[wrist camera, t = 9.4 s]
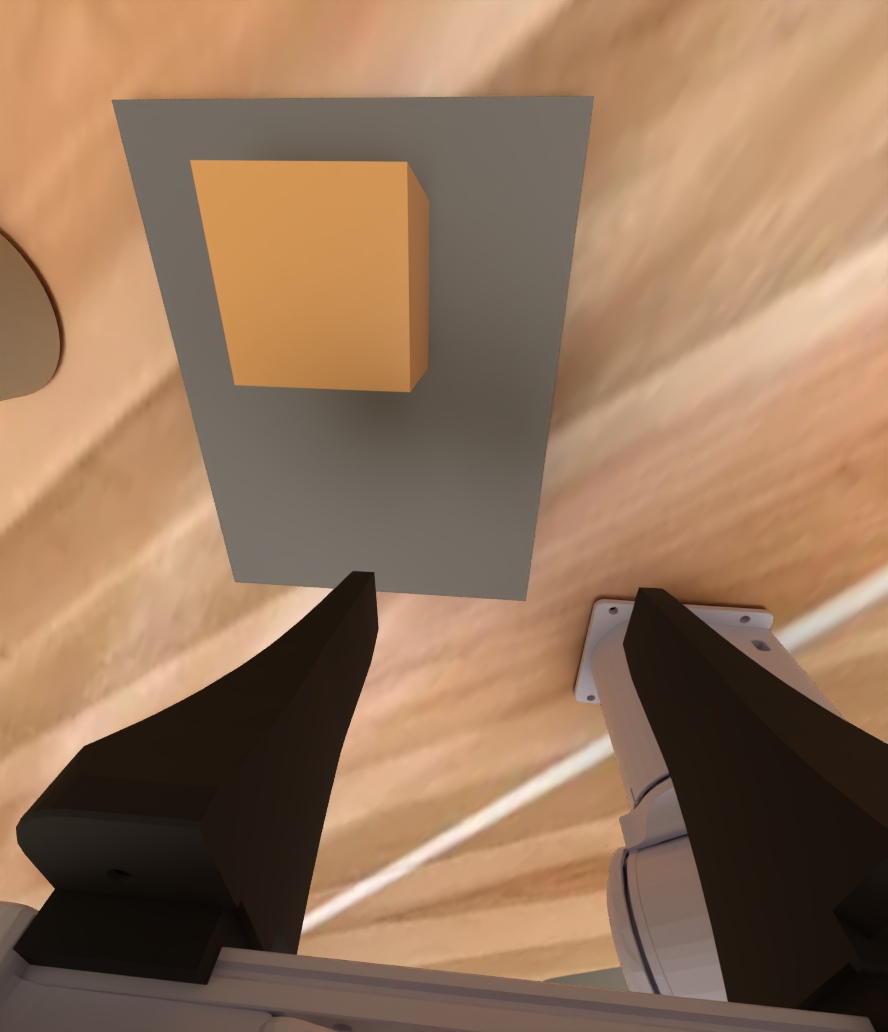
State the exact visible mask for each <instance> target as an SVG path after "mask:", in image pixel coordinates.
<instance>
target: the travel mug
mask: <svg viewBox="0 0 888 1032" xmlns="http://www.w3.org/2000/svg"><path fill="white" fill-rule="evenodd" d="M59 354H60V338H59V330H58V325H57V321H56V317H55V314H54V311H53V308H52V306H51V303H50V301H49V298H48V296H47V294H46V292H45V290H44V288H43V286H42V285H41V283H40V281H39V279H38V278H37V276H36V275H35V273H34V272H33V270H32V269H31V267H30V266H29V265H28V263H27V262H26V261H25V259H24V258H23V257H22V256H21V255H20V253H19V252H18V251H17V250H16V249H15V248H14V247H13V246H12V245H11V243H10V242H9V241H8V240H6V239H5V238H4V237H3V236H2V235H1V234H0V401H3V400H7V399H12V398H16V397H21V396H25V395H29V394H32V393H34V392H36V391H38V390H40V389H41V388H42V387H44V386H45V385H46V384H47V383H48V382H49V380H50V379H51V378H52V376H53V374H54V372H55V370H56V367H57V364H58V360H59Z"/></svg>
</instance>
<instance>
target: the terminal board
mask: <svg viewBox="0 0 888 1032" xmlns="http://www.w3.org/2000/svg"><path fill="white" fill-rule="evenodd" d="M593 100H594V96H541V97H413V98H286V99H158V100H112V103H113V107H114V111H115V115H116V119H117V123H118V127H119V130H120V134H121V138H122V142H123V146H124V150H125V154H126V158H127V162H128V166H129V170H130V173H131V177H132V181H133V185H134V189H135V193H136V197H137V201H138V205H139V209H140V213H141V216H142V220H143V224H144V228H145V232H146V236H147V240H148V244H149V248H150V252H151V256H152V260H153V263H154V267H155V271H156V275H157V279H158V283H159V287H160V291H161V295H162V299H163V303H164V306H165V310H166V314H167V318H168V322H169V326H170V330H171V334H172V338H173V342H174V346H175V349H176V353H177V357H178V361H179V365H180V369H181V373H182V377H183V381H184V385H185V389H186V392H187V396H188V400H189V404H190V408H191V412H192V416H193V420H194V424H195V428H196V432H197V436H198V439H199V443H200V447H201V451H202V455H203V459H204V463H205V467H206V471H207V475H208V479H209V482H210V486H211V490H212V494H213V498H214V502H215V506H216V510H217V514H218V518H219V522H220V525H221V529H222V533H223V537H224V541H225V545H226V549H227V553H228V557H229V561H230V565H231V568H232V572H233V576H234V580H235V582H241V583H257V584H272V585H287V586H303V587H318V588H333V589H335V588H336V587H337V586H338V585H339V584H340V583H341V582H342V581H343V580H344V579H345V578H346V577H347V576H348V575H349V574H350V573H351V572H352V571H365V572H375V586H376V591H380V592H395V593H410V594H426V595H441V596H456V597H472V598H487V599H502V600H518V601H526V596H527V589H528V581H529V574H530V566H531V559H532V552H533V544H534V537H535V529H536V522H537V515H538V507H539V500H540V492H541V485H542V478H543V470H544V463H545V455H546V448H547V441H548V433H549V426H550V418H551V411H552V404H553V396H554V389H555V381H556V374H557V367H558V359H559V352H560V344H561V337H562V330H563V322H564V315H565V307H566V300H567V293H568V285H569V278H570V270H571V263H572V256H573V248H574V241H575V233H576V226H577V219H578V211H579V204H580V196H581V189H582V182H583V174H584V167H585V159H586V152H587V145H588V137H589V130H590V122H591V115H592V108H593ZM190 160H242V161H378V162H408V164H409V166H410V168H411V169H412V171H413V173H414V175H415V176H416V178H417V180H418V182H419V183H420V185H421V187H422V189H423V190H424V192H425V194H426V196H427V197H428V199H429V352H428V369H427V370H426V372H425V373H424V374H423V376H422V377H421V378H420V380H419V381H418V382H417V384H416V385H415V386H414V388H413V389H412V391H411V392H391V391H366V390H341V389H316V388H291V387H267V386H242V385H235V384H234V379H233V374H232V369H231V364H230V359H229V354H228V349H227V344H226V339H225V333H224V328H223V323H222V318H221V313H220V308H219V303H218V298H217V293H216V288H215V283H214V278H213V273H212V268H211V263H210V258H209V253H208V248H207V243H206V238H205V233H204V228H203V223H202V218H201V213H200V208H199V203H198V198H197V193H196V187H195V182H194V177H193V172H192V167H191V162H190Z"/></svg>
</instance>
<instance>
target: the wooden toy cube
mask: <svg viewBox="0 0 888 1032" xmlns="http://www.w3.org/2000/svg"><path fill="white" fill-rule="evenodd" d="M190 162H191V167H192V172H193V177H194V182H195V187H196V193H197V198H198V203H199V208H200V213H201V218H202V223H203V228H204V233H205V238H206V243H207V248H208V253H209V258H210V263H211V268H212V273H213V278H214V283H215V288H216V293H217V298H218V303H219V308H220V313H221V318H222V323H223V328H224V333H225V339H226V344H227V349H228V354H229V359H230V364H231V369H232V374H233V379H234V384H235V385H242V386H267V387H291V388H316V389H341V390H366V391H391V392H411V391H412V389H413V388H414V386H415V385H416V384H417V382H418V381H419V380H420V378H421V377H422V376H423V374H424V373H425V372H426V370H427V369H428V352H429V199H428V197H427V196H426V194H425V192H424V190H423V189H422V187H421V185H420V183H419V182H418V180H417V178H416V176H415V175H414V173H413V171H412V169H411V168H410V166H409V164H408V162H378V161H242V160H190Z"/></svg>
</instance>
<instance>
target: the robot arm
mask: <svg viewBox="0 0 888 1032" xmlns="http://www.w3.org/2000/svg"><path fill="white" fill-rule="evenodd" d="M612 607H616V608H615V609H614V610H609V609H610V608H612ZM743 616H745V617H744V618H741V617H743ZM773 620H774V617H773V615H772V614H771V613H770V612H769V611H768V610H764V609H750V608H734V607H718V606H703V605H687V604H682V603H680V602H679V601H678V600H677V599H675V598H674V597H673V596H672V595H670V594H669V593H668V592H666V591H665V590H663V589H659V588H642V587H639V589H638V593H637V596H636V600H635V601H625V600H609V599H601V600H598V601H597V602H596V603H595V604H594V606H593V611H592V615H591V619H590V624H589V628H588V632H587V637H586V641H585V646H584V650H583V654H582V659H581V663H580V667H579V672H578V676H577V680H576V685H575V689H574V697H575V699H576V700H577V701H578V702H584V703H597V704H601V707H602V711H603V714H604V718H605V721H606V725H607V728H608V732H609V735H610V739H611V742H612V746H613V749H614V753H615V756H616V760H617V763H618V766H619V770H620V773H621V777H622V780H623V784H624V787H625V791H626V794H627V798H628V801H629V805H630V808H631V812H630V813H628V814H626V815H624V816H621V817H620V818H619V821H620V825H621V829H622V833H623V836H624V840H625V844H626V846H625V847H622V848H618V849H617V850H616V851H615V852H614V853H613V855H612V857H611V860H610V865H609V875H608V880H607V908H608V915H609V921H610V927H611V931H612V936H613V940H614V944H615V948H616V951H617V955H618V958H619V961H620V965H621V968H622V970H623V973H624V976H625V979H626V982H627V984H628V987H629V989H630V991H623V990H614V989H605V988H596V987H586V986H577V985H568V984H559V983H549V982H541V981H531V980H522V979H513V978H504V977H495V976H486V975H476V974H467V973H458V972H449V971H440V970H431V969H422V968H412V967H403V966H394V965H385V964H376V963H367V962H357V961H348V960H339V959H330V958H321V957H312V956H303V955H297V951H298V945H299V940H300V935H301V930H302V925H303V920H304V915H305V910H306V905H307V900H308V895H309V890H310V885H311V880H312V875H313V871H314V866H315V861H316V857H317V852H318V847H319V843H320V838H321V833H322V829H323V825H324V820H325V816H326V812H327V807H328V803H329V799H330V794H331V790H332V786H333V782H334V778H335V774H336V770H337V765H338V761H339V757H340V753H341V750H342V747H343V743H344V740H345V737H346V734H347V731H348V728H349V725H350V722H351V719H352V716H353V714H354V711H355V708H356V705H357V702H358V699H359V696H360V693H361V691H362V688H363V685H364V682H365V679H366V676H367V673H368V670H369V667H370V664H371V661H372V657H373V652H374V648H375V643H376V638H377V633H378V614H377V600H376V586H375V572H365V571H352V572H351V573H350V574H349V575H348V576H347V577H346V578H345V579H344V580H343V581H342V582H341V583H340V584H339V585H338V586H337V587H336V588H335V589H334V590H332V591H331V592H330V593H329V594H328V595H327V596H326V597H325V598H324V599H323V600H322V601H321V602H320V603H319V604H318V605H317V606H316V607H315V608H313V609H312V610H311V611H310V612H309V613H308V614H307V615H306V616H305V617H304V618H303V619H301V620H300V621H299V622H298V623H297V624H296V625H294V626H293V627H292V628H291V629H290V630H288V631H287V632H286V633H285V634H284V635H282V636H281V637H280V638H279V639H277V640H276V641H275V642H274V643H272V644H271V645H270V646H268V647H267V648H266V649H264V650H263V651H262V652H260V653H259V654H257V655H256V656H254V657H253V658H252V659H250V660H249V661H247V662H246V663H244V664H243V665H241V666H240V667H238V668H237V669H235V670H233V671H232V672H230V673H228V674H227V675H225V676H223V677H222V678H220V679H219V680H217V681H215V682H214V683H212V684H210V685H209V686H207V687H205V688H204V689H202V690H200V691H198V692H197V693H195V694H193V695H191V696H189V697H187V698H186V699H184V700H182V701H180V702H178V703H176V704H174V705H172V706H170V707H168V708H166V709H164V710H163V711H161V712H159V713H157V714H155V715H152V716H150V717H148V718H146V719H144V720H142V721H140V722H138V723H135V724H133V725H131V726H129V727H127V728H124V729H122V730H120V731H118V732H115V733H113V734H111V735H109V736H106V737H104V738H102V739H100V740H97V741H95V742H93V743H90V744H88V745H86V746H84V747H83V748H82V749H81V750H80V751H79V752H78V753H77V754H76V756H75V757H74V758H73V759H72V760H71V761H70V762H69V764H68V765H67V766H66V767H65V768H64V769H63V770H62V772H61V773H60V774H59V775H58V776H57V777H56V779H55V780H54V781H53V782H52V783H51V784H50V785H49V787H48V788H47V789H46V790H45V791H44V792H43V794H42V795H41V796H40V797H39V798H38V799H37V800H36V802H35V803H34V804H33V805H32V806H31V807H30V809H29V810H28V811H27V812H26V813H25V814H24V815H23V817H22V818H21V819H20V821H19V823H18V825H17V826H16V834H17V841H18V844H19V846H20V848H21V849H22V851H23V852H24V854H25V855H26V856H27V857H28V858H29V859H30V861H31V862H32V863H33V864H34V865H35V866H36V868H37V869H38V870H39V871H40V872H41V873H42V874H43V876H44V877H45V878H46V879H47V880H48V881H49V882H50V884H51V885H52V886H53V887H54V888H55V890H54V891H53V893H52V894H51V895H50V897H49V898H48V900H47V901H46V902H45V904H44V905H43V907H42V908H41V910H40V911H38V910H36V909H34V908H32V907H29V906H27V905H23V904H18V903H12V902H3V901H0V1032H888V744H886V743H884V742H883V741H881V740H879V739H877V738H875V737H874V736H872V735H870V734H868V733H867V732H865V731H863V730H861V729H860V728H858V727H856V726H854V725H852V724H851V723H849V722H847V721H846V720H845V718H844V717H843V716H842V715H841V713H840V712H839V711H838V710H837V709H836V707H835V706H834V705H833V704H832V703H831V701H830V700H829V699H828V698H827V697H826V696H825V694H824V693H823V692H822V691H821V690H820V689H819V687H818V686H817V685H816V684H815V683H814V682H813V680H812V679H811V678H810V677H809V676H808V675H807V673H806V672H805V671H804V670H803V669H802V668H801V666H800V665H799V664H798V663H797V662H796V661H795V659H794V658H793V657H792V656H791V655H790V653H789V652H788V651H787V650H786V649H785V648H784V646H783V645H782V644H781V643H780V642H779V641H778V639H777V638H776V637H775V636H774V635H773V634H772V632H771V631H770V630H769V629H770V627H771V625H772V623H773ZM589 695H591V696H589Z"/></svg>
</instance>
